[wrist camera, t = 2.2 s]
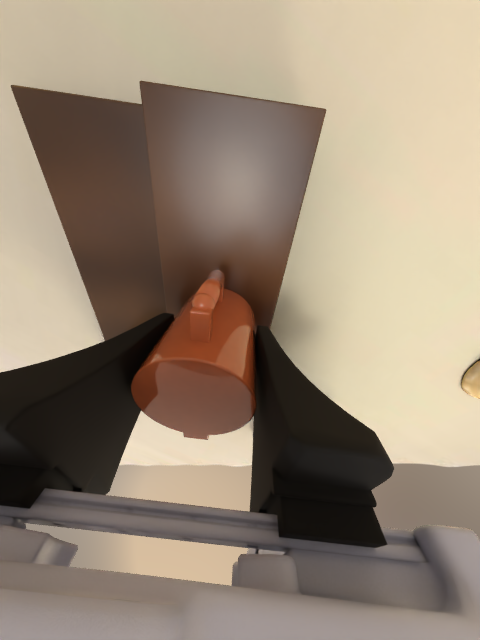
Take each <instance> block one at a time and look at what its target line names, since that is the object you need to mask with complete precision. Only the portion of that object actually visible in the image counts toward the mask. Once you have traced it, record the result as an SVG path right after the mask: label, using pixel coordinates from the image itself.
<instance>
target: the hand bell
mask: <svg viewBox="0 0 480 640" xmlns="http://www.w3.org/2000/svg"><path fill="white" fill-rule="evenodd" d="M462 388H463V390H464V391H465V392H466V393H467V394H469V395H471V396H473V397H476V398H478V399H480V361H478V362H477V363H475V364H474V365H473V366H472V367H471V368H470V369H469V370H468V371H467V372H466V373H465V375H464V377H463V380H462Z"/></svg>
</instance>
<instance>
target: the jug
mask: <svg viewBox="0 0 480 640" xmlns="http://www.w3.org/2000/svg"><path fill="white" fill-rule="evenodd" d="M224 287H225V276H224V274H223V272H221V271H220V270H213V271H211V272H210V273H209V275H208V276H207V278H206V279H205V281H204V282H203V284H202V285H201V287H200V288H199V290H198V291H197V292H196V293H195V294H193V295H192V296H191V297H190V298H189V299H188V300H187V302H186V303H185V304H184V306H183V307H182V309H181V310H180V311H179V313H178V314H177V316H176V317H175V319H174V320H173V321H172V323H171V324H170V326H169V327H168V328H167V330H166V331H165V333H164V334H163V336H162V337H161V338H160V340H159V341H158V343H157V344H156V345H155V347H154V348H153V350H152V351H151V352H150V354H149V355H148V357H147V358H146V360H145V361H144V362H143V364H142V365H141V367H140V368H139V369H138V371H137V372H136V374H135V375H134V377H133V379H132V384H131V393H132V397H133V399H134V401H135V403H136V404H137V406H138V407H139V408H140V409H141V410H142V411H143V412H144V413H145V414H146V415H147V416H148V417H150V418H151V419H153V420H154V421H156V422H158V423H160V424H162V425H164V426H166V427H168V428H171V429H174V430H177V431H180V432H183V434H184V437H188V438H196V439H205V440H208V438H209V435H218V434H224V433H229V432H232V431H235V430H237V429H239V428H241V427H243V426H244V425H246V424H247V423H248V422H249V421H250V420H251V419H252V417H253V416H254V413H255V411H256V407H257V396H256V355H255V318H254V313H253V311H252V309H251V307H250V305H249V304H248V302H247V301H246V300H245V299H244V298H243V297H241V296H240V295H239V294H237V293H235V292H233V291H231V290H228V289H224Z"/></svg>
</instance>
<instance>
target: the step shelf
mask: <svg viewBox="0 0 480 640" xmlns="http://www.w3.org/2000/svg"><path fill="white" fill-rule="evenodd" d="M11 88H12V91H13V94H14V97H15V99H16V102H17V105H18V107H19V110H20V113H21V115H22V118H23V121H24V123H25V126H26V129H27V132H28V134H29V137H30V140H31V142H32V145H33V148H34V150H35V153H36V156H37V158H38V161H39V164H40V167H41V169H42V172H43V175H44V177H45V180H46V183H47V185H48V188H49V191H50V193H51V196H52V199H53V202H54V204H55V207H56V210H57V212H58V215H59V218H60V220H61V223H62V226H63V229H64V231H65V234H66V237H67V239H68V242H69V245H70V247H71V250H72V253H73V255H74V258H75V261H76V264H77V266H78V269H79V272H80V274H81V277H82V280H83V282H84V285H85V288H86V290H87V293H88V296H89V299H90V301H91V304H92V307H93V309H94V312H95V315H96V317H97V320H98V323H99V325H100V328H101V331H102V334H103V336H104V339H105V341H106V340H109V339H111V338H113V337H115V336H118V335H120V334H122V333H124V332H126V331H128V330H130V329H132V328H134V327H136V326H138V325H140V324H142V323H144V322H146V321H148V320H150V319H152V318H153V317H155V316H157V315H159V314H162V313H170V314H174V319H175V317H176V316H177V314H178V313H179V311H180V310H181V309H182V307H183V306H184V304H185V303H186V302H187V300H188V299H189V298H190V297H191V296H192V295H193V294H195V293H196V292H197V291H198V290H199V288H200V287H201V285H202V284H203V282H204V281H205V279H206V278H207V276H208V275H209V273H210V272H211V271H213V270H220V271H221V272H223V274H224V276H225V287H224V289H228V290H231V291H233V292H235V293H237V294H239V295H240V296H241V297H243V298H244V299H245V300H246V301H247V302H248V304H249V305H250V307H251V309H252V311H253V313H254V318H255V334H256V329H257V325H261V326H268V328H269V329H270V326H271V323H272V319H273V315H274V311H275V307H276V303H277V299H278V296H279V292H280V288H281V284H282V280H283V276H284V272H285V268H286V265H287V261H288V257H289V253H290V249H291V245H292V241H293V237H294V234H295V230H296V226H297V222H298V218H299V214H300V210H301V206H302V203H303V199H304V195H305V191H306V187H307V183H308V179H309V175H310V172H311V168H312V164H313V160H314V156H315V152H316V148H317V145H318V141H319V137H320V133H321V129H322V125H323V121H324V117H325V114H326V109H323V108H316V107H310V106H303V105H297V104H290V103H284V102H277V101H270V100H264V99H257V98H251V97H244V96H238V95H231V94H224V93H218V92H211V91H205V90H198V89H192V88H185V87H178V86H172V85H165V84H159V83H152V82H146V81H140V90H141V98H142V104H137V103H130V102H123V101H117V100H110V99H103V98H97V97H90V96H83V95H77V94H70V93H63V92H57V91H50V90H43V89H37V88H30V87H23V86H17V85H11Z"/></svg>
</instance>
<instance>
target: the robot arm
mask: <svg viewBox="0 0 480 640" xmlns="http://www.w3.org/2000/svg"><path fill="white" fill-rule="evenodd" d="M173 320H174V314H170V313H162V314H159V315H157V316H155V317H153V318H152V319H150V320H148V321H146V322H144V323H142V324H140V325H138V326H136V327H134V328H132V329H130V330H128V331H126V332H124V333H122V334H120V335H118V336H115V337H113V338H111V339H109V340H106V341H104V342H102V343H99V344H96V345H94V346H91V347H89V348H86V349H83V350H80V351H77V352H74V353H71V354H68V355H65V356H62V357H59V358H55V359H52V360H48V361H45V362H41V363H38V364H34V365H30V366H26V367H22V368H18V369H14V370H10V371H5V372H1V373H0V640H480V540H479V538H478V537H477V535H476V534H475V532H473V531H472V530H470V529H468V528H460V527H451V526H442V525H424V526H420V527H417V528H415V529H414V530H413V531H411V530H402V529H393V528H385V527H380V525H379V523H378V520H377V517H376V515H375V512H374V510H373V507H376V501H375V498H374V496H373V494H372V491H371V490H372V489H373V488H375V487H377V486H378V485H380V484H381V483H383V482H385V481H386V480H387V479H389V478H390V477H391V475H392V473H393V470H394V467H393V464H392V462H391V460H390V458H389V457H388V455H387V453H386V451H385V449H384V447H383V446H382V444H381V442H380V440H379V439H378V437H377V435H376V434H375V432H374V431H372V430H371V429H370V428H368V427H367V426H365V425H364V424H363V423H361V422H360V421H358V420H357V419H355V418H354V417H353V416H351V415H350V414H348V413H347V412H346V411H344V410H343V409H342V408H341V407H339V406H338V405H337V404H336V403H334V402H333V401H332V400H331V399H329V398H328V397H327V396H326V395H325V394H323V393H322V392H321V391H320V390H319V389H318V388H317V387H316V386H315V385H313V384H312V383H311V382H310V381H309V380H308V379H307V378H306V377H305V376H304V375H303V374H302V373H301V371H300V370H299V369H298V368H297V367H296V366H295V365H294V364H293V363H292V361H291V360H290V359H289V358H288V356H287V355H286V354H285V352H284V351H283V349H282V348H281V347H280V345H279V344H278V342H277V341H276V339H275V337H274V336H273V334H272V332H271V331H270V329H269V328H268V326H261V325H257V329H256V334H255V355H256V396H257V407H256V411H255V413H254V430H253V458H252V482H251V500H250V512H247V511H237V510H229V509H220V508H212V507H203V506H195V505H186V504H177V503H168V502H160V501H151V500H143V499H133V498H125V497H116V496H108V495H106V494H107V493H108V492H109V491H110V488H111V485H112V482H113V479H114V477H115V474H116V471H117V469H118V466H119V463H120V460H121V458H122V455H123V453H124V450H125V448H126V445H127V443H128V440H129V437H130V435H131V432H132V430H133V428H134V425H135V423H136V421H137V418H138V416H139V414H140V411H141V409H140V408H139V407H138V406H137V404H136V403H135V401H134V399H133V397H132V393H131V384H132V379H133V377H134V375H135V374H136V372H137V371H138V369H139V368H140V367H141V365H142V364H143V362H144V361H145V360H146V358H147V357H148V355H149V354H150V352H151V351H152V350H153V348H154V347H155V345H156V344H157V343H158V341H159V340H160V338H161V337H162V336H163V334H164V333H165V331H166V330H167V328H168V327H169V326H170V324H171V323H172V321H173ZM25 523H30V524H39V525H48V526H57V527H66V528H75V529H83V530H92V531H102V532H110V533H119V534H128V535H137V536H146V537H156V538H164V539H172V540H181V541H190V542H191V541H192V542H199V543H208V544H217V545H226V546H235V547H245V548H248V551H247V554H241V555H240V556H239V558H238V562H235V563H234V565H233V574H232V586H228V585H220V584H212V583H204V582H196V581H188V580H180V579H172V578H164V577H156V576H147V575H139V574H130V573H121V572H113V571H103V570H93V569H85V568H76V567H69V566H70V564H71V562H72V560H73V558H74V556H75V554H76V552H77V550H78V546H77V545H75V544H71V543H68V542H64V541H62V540H59V539H57V538H54V537H52V536H51V535H49V534H48V533H43V532H37V531H32V530H27V529H26V525H25Z"/></svg>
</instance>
